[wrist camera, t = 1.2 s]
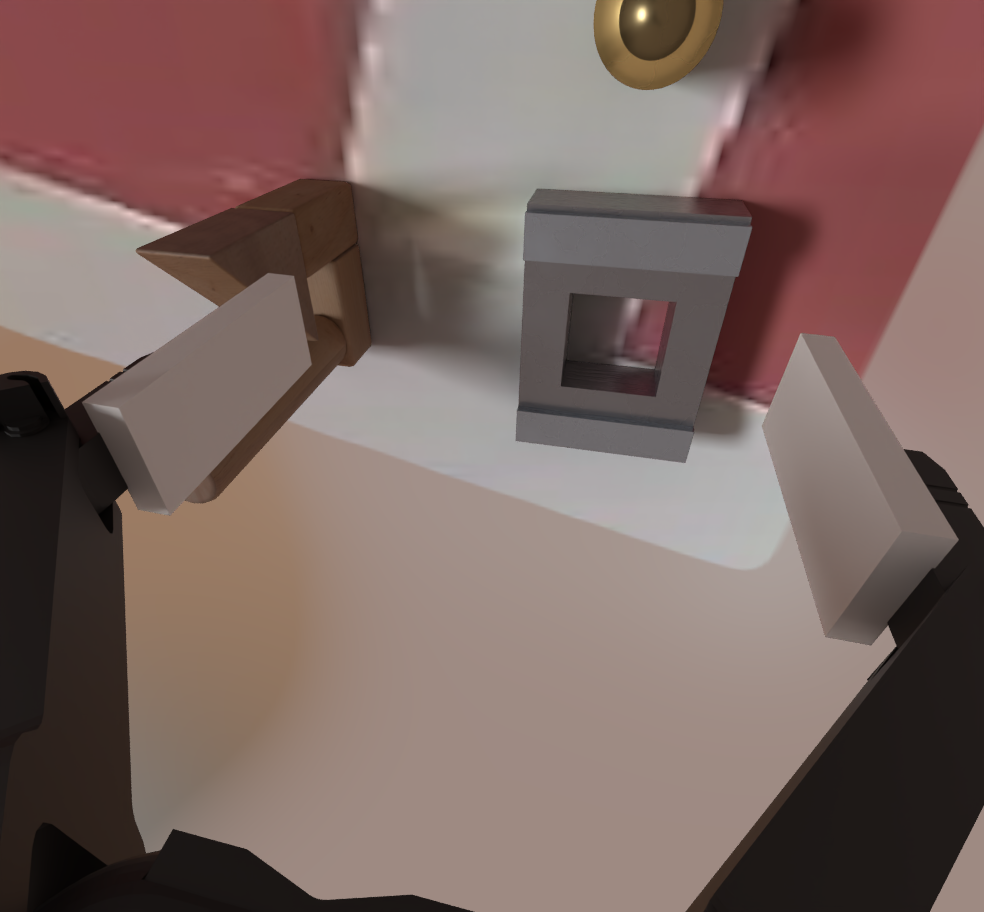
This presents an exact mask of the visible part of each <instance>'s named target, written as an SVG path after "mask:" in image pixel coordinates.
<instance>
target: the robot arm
mask: <svg viewBox="0 0 984 912" xmlns="http://www.w3.org/2000/svg"><path fill="white" fill-rule="evenodd" d="M311 365H312V363H311V358H310V353H309V348H308V343H307V338H306V333H305V328H304V323H303V318H302V313H301V308H300V303H299V298H298V293H297V288H296V283H295V278H294V276H290V275H282V274H273V273H267V274H266V275H265V276H263V277H262V278H260V279H259V280H257V281H256V282H255V283H253V284H252V285H250V286H249V287H247V288H246V289H244V290H243V291H242V292H240V293H239V294H237V295H236V296H234V297H233V298H231V299H230V300H229V301H227V302H226V303H224V304H223V305H221V306H220V307H218V308H217V309H216V310H214V311H213V312H211V313H210V314H208V315H207V316H205V317H204V318H203V319H201V320H200V321H198V322H197V323H195V324H194V325H193V326H191V327H190V328H188V329H187V330H185V331H184V332H182V333H181V334H180V335H178V336H177V337H175V338H174V339H172V340H171V341H169V342H168V343H167V344H165V345H164V346H162V347H161V348H159V349H158V350H156V351H155V352H153V353H151V354H148V355H146V356H143V357H141V358H139V359H138V360H136V361H135V362H133V363H132V364H130V365H129V366H127V367H126V368H124V369H123V372H119V373H117V374H116V375H114V376H113V377H111V378H110V381H109V382H108V381H105V382H104V383H103V384H101V385H100V386H98V387H97V388H95V389H94V390H92V391H91V392H89V393H88V394H87V395H85V396H84V397H82V398H81V399H79V400H78V401H76V402H75V403H73V404H72V405H70V406H69V407H68V408H66V409H64V408H63V406H62V404H61V402H60V400H59V398H58V397H57V395H56V393H55V391H54V389H53V388H52V386H51V384H50V382H49V380H48V379H47V377H46V376H45V375H44V374H41V373H39V372H33V371H19V372H11V373H5V374H1V375H0V912H473V911H470V910H466V909H462V908H459V907H455V906H451V905H448V904H444V903H440V902H437V901H433V900H429V899H426V898H422V897H419V896H415V895H400V896H383V897H367V898H352V899H336V900H320V899H316V898H314V897H312V896H310V895H309V894H307V893H306V892H305V891H303V890H302V889H301V888H299V887H298V886H296V885H295V884H294V883H292V882H291V881H290V880H288V879H287V878H286V877H284V876H283V875H281V874H280V873H279V872H277V871H276V870H274V869H273V868H272V867H271V866H269V865H268V864H266V863H265V862H264V861H262V860H261V859H260V858H258V857H257V856H255V855H254V854H253V853H251V852H250V851H249V850H247V849H244V848H240V847H236V846H233V845H229V844H226V843H222V842H218V841H215V840H211V839H207V838H203V837H200V836H196V835H193V834H189V833H185V832H182V831H178V830H175V829H173V830H172V832H171V834H170V835H169V837H168V839H167V841H166V842H165V844H164V846H163V848H162V849H161V850H160V851H156V852H151V853H146V852H145V847H144V843H143V840H142V837H141V835H140V832H139V830H138V827H137V825H136V822H135V819H134V815H133V809H132V794H131V765H130V736H129V712H128V711H129V710H128V709H129V708H128V681H127V651H126V625H125V624H126V623H125V596H124V595H125V594H124V568H123V567H124V566H123V537H122V513H121V511H120V508H119V506H118V505H117V503H116V501H115V500H116V499H117V498H118V497H119V496H120V495H121V494H122V493H124V491H126V490H127V489H128V491H129V493H130V494H131V497H132V498H133V501H134V502H135V504H136V506H137V508H138V510H143V511H149V512H154V513H159V514H164V515H171V514H172V513H173V512H174V511H175V510H176V509H177V508H178V507H179V506H180V504H182V502H183V501H184V500H185V499H186V498H187V497H188V496H189V495H190V494H191V493H192V492H193V491H194V490H195V489H196V488H197V487H198V485H199V484H200V483H201V482H202V481H203V480H204V479H205V478H206V477H207V476H208V475H209V474H210V473H211V472H212V471H213V469H214V468H215V467H216V466H217V465H218V464H219V463H220V462H221V461H222V460H223V459H224V458H225V457H226V456H227V455H228V453H229V452H230V451H231V450H232V449H233V448H234V447H235V446H236V445H237V444H238V443H239V442H240V441H241V440H242V439H243V437H244V436H245V435H246V434H247V433H248V432H249V431H250V430H251V429H252V428H253V427H254V426H255V425H256V424H257V423H258V421H259V420H260V419H261V418H262V417H263V416H264V415H265V414H266V413H267V412H268V411H269V410H270V409H271V408H272V407H273V405H274V404H275V403H276V402H277V401H278V400H279V399H280V398H281V397H282V396H283V395H284V394H285V393H286V392H287V391H288V389H289V388H290V387H291V386H292V385H293V384H294V383H295V382H296V381H297V380H298V379H299V378H300V377H301V376H302V375H303V373H304V372H305V371H306V370H307V369H308V368H309V367H310V366H311ZM762 428H763V431H764V435H765V438H766V441H767V445H768V448H769V451H770V455H771V458H772V461H773V465H774V468H775V471H776V475H777V478H778V481H779V485H780V488H781V491H782V494H783V498H784V501H785V504H786V508H787V511H788V514H789V518H790V521H791V524H792V528H793V531H794V534H795V537H796V541H797V544H798V548H799V551H800V554H801V558H802V561H803V564H804V568H805V571H806V574H807V578H808V581H809V584H810V588H811V591H812V594H813V598H814V601H815V604H816V608H817V611H818V614H819V617H820V621H821V624H822V628H823V631H824V634H825V637H828V638H833V639H839V640H845V641H850V642H855V643H860V644H866V645H872V644H873V643H874V641H875V640H876V639H877V638H878V636H879V635H880V634H881V633H882V632H883V631H884V629H885V628H886V627H887V626H889V628H890V631H891V633H892V636H893V638H894V640H895V643H896V645H897V646H896V647H895V648H894V650H893V651H892V652H891V653H890V654H889V655H888V656H887V657H886V659H885V660H884V661H883V662H882V663H881V664H880V665H879V667H878V668H877V669H876V670H875V671H874V672H873V673H872V674H871V676H870V677H869V678H868V679H867V680H868V682H867V683H866V684H865V685H864V687H863V688H862V689H861V690H860V692H859V693H858V694H857V696H856V697H855V698H854V699H853V701H852V702H851V703H850V704H849V706H848V707H847V708H846V710H845V711H844V712H843V713H842V714H841V716H840V717H839V718H838V720H837V721H836V722H835V723H834V725H833V726H832V727H831V729H830V730H829V731H828V732H827V733H826V735H825V736H824V737H823V738H822V740H821V741H820V742H819V744H818V745H817V746H816V747H815V749H814V750H813V751H812V752H811V754H810V755H809V756H808V757H807V759H806V760H805V761H804V763H803V764H802V765H801V766H800V768H799V769H798V770H797V772H796V773H795V774H794V775H793V776H792V778H791V779H790V780H789V782H788V783H787V784H786V785H785V787H784V788H783V789H782V790H781V792H780V793H779V794H778V795H777V797H776V798H775V799H774V801H773V802H772V803H771V804H770V806H769V807H768V808H767V809H766V811H765V812H764V813H763V814H762V816H761V817H760V818H759V819H758V821H757V822H756V823H755V825H754V826H753V827H752V828H751V830H750V831H749V832H748V834H747V835H746V836H745V837H744V838H743V840H742V841H741V842H740V844H739V845H738V846H737V847H736V849H735V850H734V851H733V853H732V854H731V855H730V856H729V858H728V859H727V860H726V861H725V862H724V864H723V865H722V866H721V868H720V869H719V870H718V871H717V873H716V874H715V875H714V876H713V878H712V879H711V880H710V882H709V883H708V884H707V885H706V887H705V888H704V889H703V890H702V892H701V893H700V894H699V896H698V897H697V898H696V899H695V900H694V902H693V903H692V904H691V906H690V907H689V908H688V909H687V911H686V912H930V910H931V908H932V906H933V904H934V902H935V900H936V898H937V896H938V894H939V893H940V891H941V889H942V886H943V884H944V883H945V881H946V879H947V877H948V875H949V873H950V871H951V869H952V867H953V865H954V863H955V861H956V859H957V857H958V855H959V853H960V851H961V849H962V847H963V845H964V843H965V841H966V839H967V838H968V836H969V834H970V832H971V830H972V828H973V826H974V824H975V822H976V820H977V818H978V816H979V814H980V812H981V810H982V808H983V806H984V527H983V526H982V524H981V523H980V521H979V520H978V518H977V517H976V515H975V514H974V512H973V511H972V509H970V508H968V503H967V502H966V500H965V499H964V497H963V496H962V494H961V493H958V492H957V490H958V488H957V487H956V486H955V484H954V483H953V481H952V480H951V478H950V477H949V475H948V474H947V472H946V471H945V470H944V469H943V468H942V467H941V466H939V465H938V464H937V463H936V462H934V461H933V460H932V459H931V458H930V457H928V456H927V455H926V454H925V453H923V452H920V451H913V450H905V449H903V448H902V446H901V444H900V443H899V441H898V440H897V438H896V436H895V435H894V433H893V431H892V430H891V428H890V426H889V425H888V423H887V422H886V420H885V418H884V417H883V415H882V413H881V412H880V410H879V409H878V407H877V405H876V404H875V402H874V401H873V399H872V397H871V396H870V394H869V392H868V390H867V389H866V387H865V386H864V384H863V382H862V381H861V379H860V377H859V376H858V374H857V372H856V371H855V369H854V368H853V366H852V364H851V363H850V361H849V359H848V358H847V356H846V354H845V353H844V351H843V350H842V348H841V346H840V345H839V343H838V341H837V340H836V338H835V337H831V336H822V335H813V334H804V333H801V334H800V336H799V339H798V341H797V343H796V346H795V348H794V351H793V353H792V355H791V358H790V360H789V363H788V365H787V367H786V370H785V372H784V375H783V377H782V379H781V382H780V384H779V386H778V389H777V391H776V394H775V396H774V398H773V401H772V403H771V406H770V408H769V410H768V413H767V415H766V418H765V420H764V422H763V425H762Z"/></svg>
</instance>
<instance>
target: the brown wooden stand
mask: <svg viewBox="0 0 984 912" xmlns="http://www.w3.org/2000/svg"><path fill="white" fill-rule="evenodd" d="M357 239H358V235H357V227H356V220H355V212H354V204H353V197H352V189H351V186H350V184H349V183H346V182H341V181H325V180H309V179H299V180H297V181H294V182H292V183H290V184H287V185H285V186H283V187H280V188H278V189H276V190H273V191H271V192H269V193H266V194H264V195H262V196H259V197H257V198H255V199H252V200H250V201H248V202H245V203H243V204H241V205H239V206H237V207H236V208H231V209H228V210H226V211H223V212H221V213H219V214H216V215H214V216H212V217H209V218H207V219H205V220H202V221H200V222H198V223H195V224H193V225H191V226H188V227H186V228H184V229H181V230H179V231H177V232H174V233H172V234H170V235H167V236H165V237H163V238H160V239H158V240H156V241H153V242H151V243H149V244H146V245H144V246H142V247H139V248H137V249H136V252H137V253H138V254H139V255H140V256H142V257H144V258H145V259H147V260H148V261H150V262H151V263H153V264H154V265H156V266H157V267H159V268H161V269H162V270H164V271H165V272H167V273H168V274H170V275H171V276H173V277H174V278H176V279H178V280H179V281H181V282H182V283H184V284H185V285H187V286H188V287H190V288H191V289H193V290H195V291H196V292H198V293H199V294H201V295H202V296H204V297H205V298H207V299H208V300H210V301H211V302H213V303H215V304H216V305H218V306H219V307H220V306H221V305H223V304H224V303H226V302H227V301H229V300H230V299H231V298H233V297H234V296H236V295H237V294H239V293H240V292H242V291H243V290H244V289H246V288H247V287H249V286H250V285H252V284H253V283H255V282H256V281H257V280H259V279H260V278H262V277H263V276H265V275H266V274H267V273H273V274H282V275H290V276H294V278H295V283H296V288H297V293H298V298H299V303H300V308H301V313H302V318H303V323H304V328H305V333H306V338H307V343H308V348H309V353H310V358H311V363H312V365H311V366H310V367H309V368H308V369H307V370H306V371H305V372H304V373H303V375H302V376H301V377H300V378H299V379H298V380H297V381H296V382H295V383H294V384H293V385H292V386H291V387H290V388H289V389H288V391H287V392H286V393H285V394H284V395H283V396H282V397H281V398H280V399H279V400H278V401H277V402H276V403H275V404H274V405H273V407H272V408H271V409H270V410H269V411H268V412H267V413H266V414H265V415H264V416H263V417H262V418H261V419H260V420H259V421H258V423H257V424H256V425H255V426H254V427H253V428H252V429H251V430H250V431H249V432H248V433H247V434H246V435H245V436H244V437H243V439H242V440H241V441H240V442H239V443H238V444H237V445H236V446H235V447H234V448H233V449H232V450H231V451H230V452H229V453H228V455H227V456H226V457H225V458H224V459H223V460H222V461H221V462H220V463H219V464H218V465H217V466H216V467H215V468H214V469H213V471H212V472H211V473H210V474H209V475H208V476H207V477H206V478H205V479H204V480H203V481H202V482H201V483H200V484H199V485H198V487H197V488H196V489H195V490H194V491H193V492H192V493H191V494H190V495H189V496H188V497H187V498H186V499H185V500H184V501H188V502H192V503H206V502H209V501H212V500H214V499H216V498H217V497H218V496H219V495H220V494H221V493H222V491H224V489H225V488H226V487H227V486H228V485H229V484H230V483H231V482H232V481H233V479H234V478H235V477H236V476H237V475H238V474H239V473H240V472H241V470H242V469H244V467H245V466H246V465H247V464H248V463H249V462H250V461H251V460H252V459H253V457H254V456H255V455H256V454H257V453H258V452H259V451H260V450H261V449H262V448H263V446H264V445H265V444H266V443H267V442H268V441H269V440H270V439H271V438H272V437H273V435H274V434H275V433H276V432H277V431H278V430H279V429H280V428H281V427H282V426H283V424H284V423H285V422H286V421H287V420H288V419H289V418H290V417H291V416H292V415H293V413H294V412H295V411H296V410H297V409H298V408H299V407H300V406H301V405H302V404H303V402H304V401H305V400H306V399H307V398H308V397H309V396H310V395H311V394H312V393H313V391H314V390H315V389H316V388H317V387H318V386H319V385H320V384H321V383H322V381H323V380H324V379H325V378H326V377H327V376H328V375H329V374H330V373H331V372H332V370H333V369H334V368H335V367H336V366H337V365H340V366H348V367H350V366H354V365H355V364H356V362H357V361H358V360H359V359H360V358H361V357H362V355H363V354H364V353H365V352H366V351H367V350H368V348H369V347H370V346H371V335H370V327H369V320H368V312H367V304H366V297H365V289H364V282H363V274H362V266H361V259H360V251H359V247H358V245H356V244H355V243H356V242H357Z"/></svg>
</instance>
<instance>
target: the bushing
mask: <svg viewBox="0 0 984 912" xmlns="http://www.w3.org/2000/svg"><path fill="white" fill-rule="evenodd" d="M722 10H723V0H597V1H596V6H595V12H594V36H595V42H596V46H597V50H598V53H599V55H600V58H601V60H602V62H603V64H604V65H605V67H606V69H607V70H608V71H609V72H610V73H611V75H612V76H614V77H615V78H616V79H617V80H618V81H620V82H621V83H623V84H625V85H627V86H629V87H632V88H636V89H641V90H654V89H659V88H663V87H666V86H668V85H671V84H673V83H675V82H677V81H678V80H680V79H681V78H683V77H684V76H686V75H687V74H688V73H689V72H690V71H691V70H693V68H694V67H695V66H696V65H697V64H698V63H699V62H700V61H701V59H702V58H703V57H704V55H705V54H706V52H707V51H708V49H709V48H710V46H711V44H712V42H713V40H714V38H715V35H716V33H717V30H718V27H719V24H720V20H721V16H722Z"/></svg>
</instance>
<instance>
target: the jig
mask: <svg viewBox="0 0 984 912" xmlns="http://www.w3.org/2000/svg"><path fill="white" fill-rule="evenodd" d="M751 220H752V216H751V214H750V213H749V211H748V209H747V208H746V206H745V204H744V203H743V201H742V200H731V199H713V198H695V197H677V196H659V195H641V194H623V193H605V192H586V191H568V190H550V189H537V190H536V191H535V193H534V194H533V196H532V197H531V199H530V200H529V202H528V203H527V211H526V212H525V230H524V254H523V260H525V269H524V292H523V316H522V339H521V362H520V385H519V406H518V409H517V423H516V441H521V442H529V443H536V444H544V445H552V446H559V447H567V448H575V449H582V450H590V451H598V452H605V453H613V454H621V455H628V456H636V457H644V458H652V459H659V460H667V461H675V462H682V463H686V459H687V456H688V452H689V449H690V445H691V441H692V438H693V434H694V428H693V426H694V423H695V419H696V416H697V412H698V409H699V405H700V401H701V398H702V394H703V391H704V387H705V384H706V380H707V377H708V373H709V369H710V366H711V362H712V359H713V355H714V352H715V348H716V344H717V341H718V337H719V334H720V330H721V327H722V323H723V320H724V316H725V312H726V309H727V305H728V302H729V298H730V295H731V291H732V287H733V284H734V280H735V277H738V276H739V272H740V269H741V265H742V262H743V258H744V255H745V251H746V248H747V244H748V241H749V237H750V234H751V230H752V226H751V224H750V223H751ZM573 293H576V294H588V295H600V296H612V297H623V298H635V299H647V300H659V301H669V304H668V309H667V314H666V319H665V323H664V328H663V333H662V337H661V342H660V347H659V352H658V356H657V361H656V366H655V370H653V369H643V368H634V367H624V366H615V365H605V364H596V363H586V362H577V361H567V350H568V340H569V330H570V320H571V310H572V300H573Z"/></svg>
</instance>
